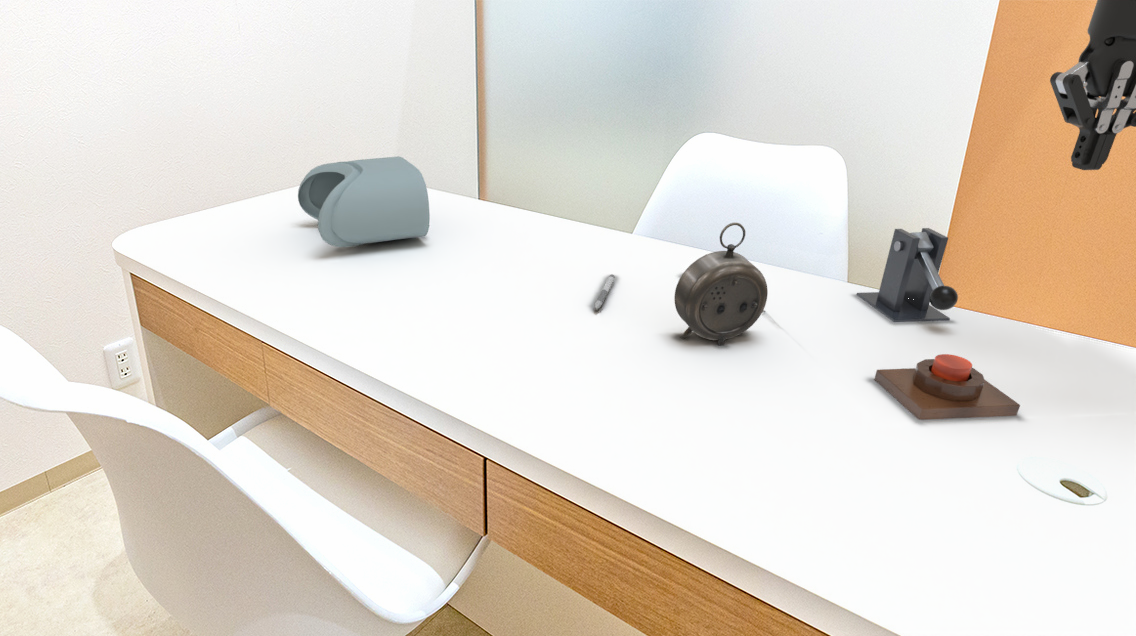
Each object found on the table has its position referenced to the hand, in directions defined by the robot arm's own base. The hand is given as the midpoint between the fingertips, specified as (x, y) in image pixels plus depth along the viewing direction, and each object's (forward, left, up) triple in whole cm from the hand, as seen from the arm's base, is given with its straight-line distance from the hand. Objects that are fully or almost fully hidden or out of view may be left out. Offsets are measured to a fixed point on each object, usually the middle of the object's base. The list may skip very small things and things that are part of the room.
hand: (1085, 168), depth 78 cm
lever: (+2, -17, -19) cm, 25 cm away
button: (+12, +5, -21) cm, 25 cm away
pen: (+43, -29, -25) cm, 58 cm away
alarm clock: (+32, -12, -25) cm, 42 cm away
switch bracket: (+2, -20, -25) cm, 32 cm away
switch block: (+12, +5, -25) cm, 28 cm away
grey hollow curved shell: (+81, -61, -25) cm, 104 cm away
